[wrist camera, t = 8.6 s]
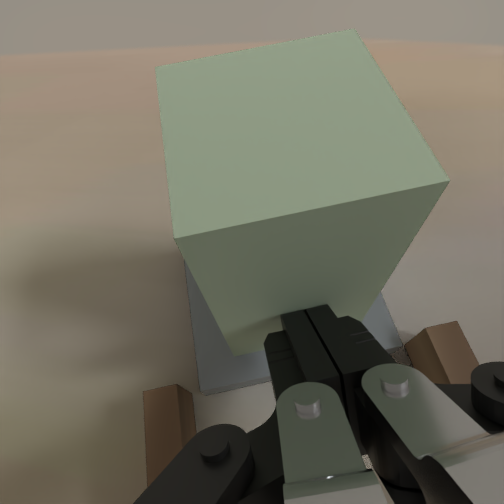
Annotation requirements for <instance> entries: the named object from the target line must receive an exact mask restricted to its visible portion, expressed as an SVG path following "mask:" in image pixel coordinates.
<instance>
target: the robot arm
mask: <svg viewBox="0 0 504 504" xmlns="http://www.w3.org/2000/svg"><path fill="white" fill-rule="evenodd" d="M280 317H281V323H282V328H283V330H282V331H277V332H273V333H268V335H267V337H266V339H265V341H264V349H265V353H266V358H267V363H268V367H269V372H270V377H271V382H272V386H273V390H274V395H275V399H276V408H275V410H274V412H273V414H272V415H271V417H270V418H269V419H268V420H267V421H266V422H265V423H264V424H262V425H261V426H259V427H258V428H256V429H254V430H252V431H250V432H248V433H245V431H244V430H242V429H241V428H240V427H237V426H235V425H231V424H219V425H214V426H211V427H208V428H206V429H204V430H202V431H201V432H199V433H198V434H196V435H195V436H194V437H193V438H192V439H191V440H190V441H189V442H188V443H187V444H186V445H185V446H184V447H183V448H182V450H181V451H180V452H179V453H178V454H177V455H176V456H175V457H174V459H173V460H172V461H171V462H170V463H169V464H168V465H167V466H166V468H165V469H164V470H163V471H162V472H161V473H160V474H159V475H158V477H157V478H156V479H155V480H154V481H153V482H152V483H151V484H150V486H149V487H148V488H147V489H146V490H145V491H144V492H143V493H142V494H141V496H140V497H139V498H138V499H137V500H136V501H135V502H134V503H133V504H504V362H489V363H484V364H481V365H479V366H477V367H476V368H474V370H473V371H472V373H471V384H437V383H432V382H431V381H430V380H429V379H428V378H427V377H426V376H425V375H424V374H422V373H421V372H420V371H418V370H417V369H415V368H412V367H410V366H407V365H402V364H397V363H396V362H395V361H394V359H393V358H392V357H391V356H390V355H389V354H388V352H387V351H386V350H385V349H384V348H383V347H382V345H381V344H380V343H379V342H378V341H377V340H375V337H374V336H373V335H372V334H371V333H370V332H369V331H368V329H367V328H366V327H365V326H364V325H363V323H362V322H361V321H359V320H356V319H354V318H352V317H350V316H343V317H339V318H338V317H337V316H336V315H335V313H334V312H333V311H332V309H331V308H330V307H329V305H328V304H326V305H322V306H317V307H313V308H308V309H305V311H303V310H300V311H295V312H291V313H286V314H282V315H280ZM366 454H368V456H369V458H370V460H371V462H372V466H373V470H372V469H366V466H365V464H364V461H363V459H362V455H366Z"/></svg>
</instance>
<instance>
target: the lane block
mask: <svg viewBox="0 0 504 504" xmlns="http://www.w3.org/2000/svg"><path fill="white" fill-rule="evenodd" d="M155 72H156V81H157V90H158V99H159V108H160V117H161V127H162V136H163V145H164V154H165V163H166V172H167V181H168V190H169V199H170V208H171V218H172V227H173V236H174V240H175V242H176V244H177V246H178V248H179V250H180V252H181V254H182V256H183V258H184V264H185V272H186V280H187V288H188V296H189V305H190V313H191V321H192V329H193V337H194V345H195V354H196V362H197V370H198V378H199V386H200V392H202V393H203V394H204V395H211V394H215V393H220V392H224V391H228V390H233V389H237V388H242V387H246V386H250V385H255V384H259V383H264V382H268V381H271V377H270V372H269V367H268V363H267V358H266V353H265V349H264V341H265V339H266V337H267V335H268V333H273V332H277V331H282V330H283V328H282V323H281V317H280V315H282V314H286V313H291V312H295V311H300V310H303V311H305V309H308V308H313V307H317V306H322V305H326V304H328V305H329V307H330V308H331V309H332V311H333V312H334V313H335V315H336V316H337V317H338V318H339V317H343V316H350V317H352V318H354V319H356V320H359V321H361V322H362V323H363V325H364V326H365V327H366V328H367V329H368V331H369V332H370V333H371V334H372V335H373V336H374V337H375V340H377V341H378V342H379V343H380V344H381V345H382V347H383V348H384V349H385V350H386V351H387V352H388V354H391V353H395V352H396V351H397V350H398V349H399V348H401V347H402V346H403V344H402V342H401V339H400V337H399V335H398V332H397V330H396V327H395V325H394V323H393V320H392V318H391V315H390V313H389V311H388V308H387V306H386V303H385V301H384V299H383V296H382V294H381V290H382V288H383V287H384V285H385V283H386V282H387V280H388V279H389V277H390V275H391V274H392V272H393V271H394V269H395V267H396V266H397V264H398V263H399V261H400V260H401V258H402V256H403V255H404V253H405V252H406V250H407V248H408V247H409V245H410V244H411V242H412V240H413V239H414V237H415V236H416V234H417V232H418V231H419V229H420V228H421V226H422V225H423V223H424V221H425V220H426V218H427V217H428V215H429V213H430V212H431V210H432V209H433V207H434V205H435V204H436V202H437V201H438V199H439V198H440V196H441V194H442V193H443V191H444V190H445V188H446V186H447V185H448V183H449V182H450V179H449V177H448V176H447V174H446V173H445V171H444V170H443V168H442V166H441V165H440V163H439V162H438V160H437V158H436V157H435V155H434V154H433V152H432V150H431V149H430V147H429V146H428V144H427V143H426V141H425V139H424V138H423V136H422V135H421V133H420V131H419V130H418V128H417V127H416V125H415V124H414V122H413V120H412V119H411V117H410V116H409V114H408V112H407V111H406V109H405V108H404V106H403V104H402V103H401V101H400V100H399V98H398V97H397V95H396V93H395V92H394V90H393V89H392V87H391V85H390V84H389V82H388V81H387V79H386V77H385V76H384V74H383V73H382V71H381V70H380V68H379V66H378V65H377V63H376V62H375V60H374V58H373V57H372V55H371V54H370V52H369V51H368V49H367V47H366V46H365V44H364V43H363V41H362V39H361V38H360V36H359V35H358V33H357V31H356V30H355V29H349V30H344V31H339V32H334V33H329V34H324V35H319V36H313V37H308V38H303V39H298V40H293V41H287V42H282V43H277V44H272V45H267V46H262V47H256V48H251V49H246V50H241V51H236V52H230V53H225V54H220V55H215V56H210V57H205V58H199V59H194V60H189V61H184V62H179V63H174V64H168V65H163V66H158V67H155Z"/></svg>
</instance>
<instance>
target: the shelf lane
mask: <svg viewBox="0 0 504 504" xmlns="http://www.w3.org/2000/svg"><path fill="white" fill-rule="evenodd" d="M405 348H406V350H407V353H408V355H409V357H410V360H411V362H412V365H413V367H414V368H415V369H417V370H418V371H420V372H421V373H422V374H424V375H425V376H426V377H427V378H428V379H429V380H430V381H431V382H432V383H437V384H471V373H472V371H473V370H474V368H476V367H477V366H479V363H478V361H477V359H476V357H475V355H474V353H473V351H472V350H471V348H470V346H469V344H468V342H467V340H466V338H465V336H464V334H463V332H462V330H461V328H460V326H459V324H458V322H457V321H454V322H449V323H445V324H440V325H436V326H431V327H427V328H425V329H423V330H422V331H421V332H420V333H419V334H417V335H416V336H415V337H414V338H413V339H411V340H410V341H409V342H408V343H407V344H405ZM143 400H144V422H145V443H146V464H147V486H148V487H149V486H150V484H151V483H152V482H153V481H154V480H155V479H156V478H157V477H158V475H159V474H160V473H161V472H162V471H163V470H164V469H165V468H166V466H167V465H168V464H169V463H170V462H171V461H172V460H173V459H174V457H175V456H176V455H177V454H178V453H179V452H180V451H181V450H182V448H183V447H184V446H185V445H186V444H187V443H188V442H189V441H190V440H191V439H192V438H193V437H194V436H195V435H196V425H195V416H194V407H193V398H192V393H190V392H189V391H187V390H185V389H184V388H182V387H181V386H179V385H177V384H174V385H170V386H165V387H161V388H156V389H152V390H148V391H143Z"/></svg>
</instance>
